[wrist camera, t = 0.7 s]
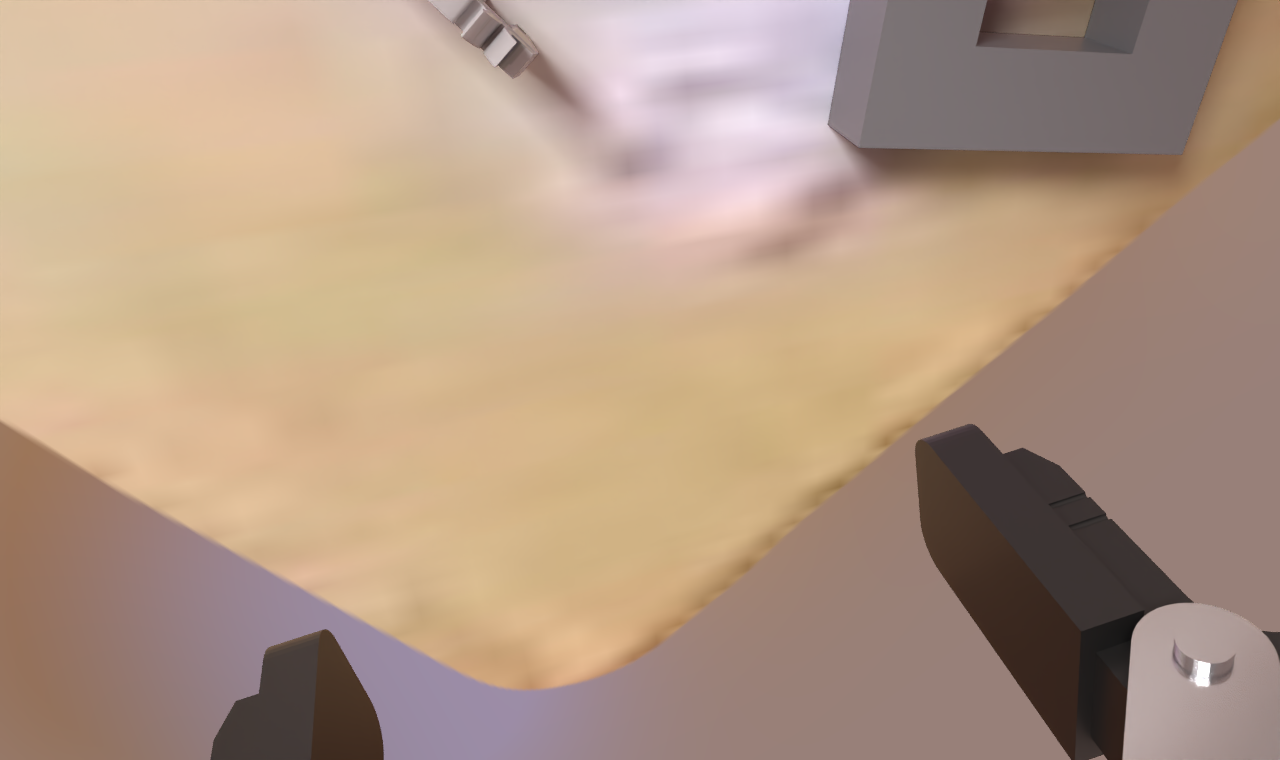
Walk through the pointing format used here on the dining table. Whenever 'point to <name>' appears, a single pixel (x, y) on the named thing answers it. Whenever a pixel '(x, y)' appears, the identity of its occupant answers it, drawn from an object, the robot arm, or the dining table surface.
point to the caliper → (490, 34)
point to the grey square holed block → (1025, 78)
